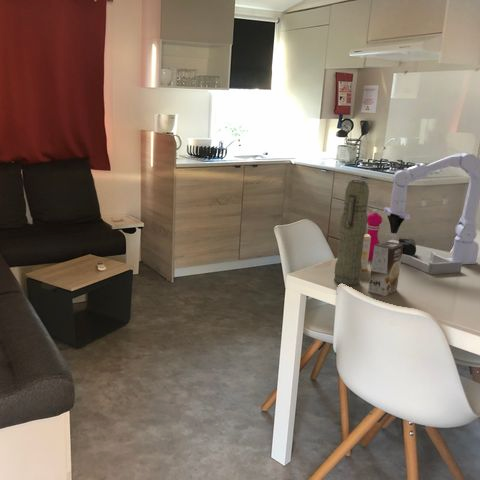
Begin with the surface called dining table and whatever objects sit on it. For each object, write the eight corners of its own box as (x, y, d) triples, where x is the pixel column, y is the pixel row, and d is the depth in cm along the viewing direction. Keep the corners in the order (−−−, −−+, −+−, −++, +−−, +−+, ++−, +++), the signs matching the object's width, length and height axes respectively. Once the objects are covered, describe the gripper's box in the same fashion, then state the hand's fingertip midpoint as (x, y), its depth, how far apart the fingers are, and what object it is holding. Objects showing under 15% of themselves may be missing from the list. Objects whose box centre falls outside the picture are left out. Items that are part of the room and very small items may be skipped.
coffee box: (385, 296, 174) (392, 249, 170) (367, 291, 178) (373, 244, 174) (397, 290, 181) (404, 244, 177) (379, 285, 185) (385, 240, 181)
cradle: (432, 258, 222) (434, 249, 221) (463, 271, 207) (465, 261, 206) (397, 261, 216) (399, 251, 215) (427, 274, 200) (428, 264, 199)
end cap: (414, 260, 219) (417, 244, 217) (396, 257, 221) (398, 241, 219) (414, 254, 228) (416, 238, 227) (397, 251, 230) (399, 236, 229)
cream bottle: (365, 267, 205) (369, 233, 202) (367, 271, 200) (371, 237, 197) (343, 265, 206) (347, 232, 202) (344, 269, 201) (348, 235, 198)
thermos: (362, 279, 190) (375, 180, 182) (355, 288, 180) (368, 184, 171) (338, 274, 194) (349, 177, 185) (329, 284, 183) (341, 181, 174)
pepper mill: (378, 261, 214) (385, 211, 209) (360, 259, 215) (366, 210, 210) (378, 256, 221) (384, 208, 216) (360, 254, 222) (366, 206, 217)
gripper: (379, 197, 223) (375, 229, 227) (401, 204, 210) (396, 237, 214) (393, 197, 226) (389, 228, 229) (416, 203, 213) (411, 237, 216)
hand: (393, 233), depth 222 cm, fingers closed
